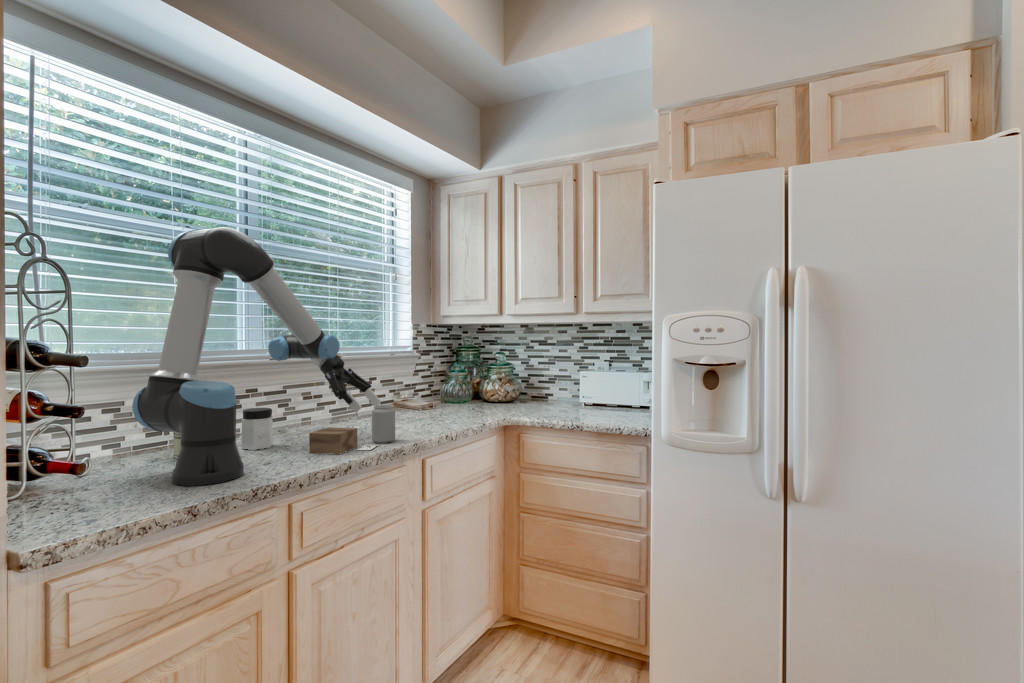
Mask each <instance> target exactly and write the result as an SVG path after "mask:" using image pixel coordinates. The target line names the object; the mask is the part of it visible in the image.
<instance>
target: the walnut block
mask: <svg viewBox="0 0 1024 683" xmlns="http://www.w3.org/2000/svg"><path fill="white" fill-rule="evenodd" d="M308 434H309V436H308V438H309V443H308V444H309V446H308V447H309V448H308V449H309V454H317V453H334V454H333V455H338V454H340V453H343V452H345V451H347V452H349V451H348V450H350V449H352V450H354V449H353V448H355V449H357V448H358V428H356V427H332V426H331V427H330V426H329V427H324V428H322V429H317V430H315V431H312V432H309V433H308ZM356 447H357V448H356ZM350 451H351V450H350ZM345 453H346V452H345ZM343 454H344V453H343ZM340 455H341V454H340Z"/></svg>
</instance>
